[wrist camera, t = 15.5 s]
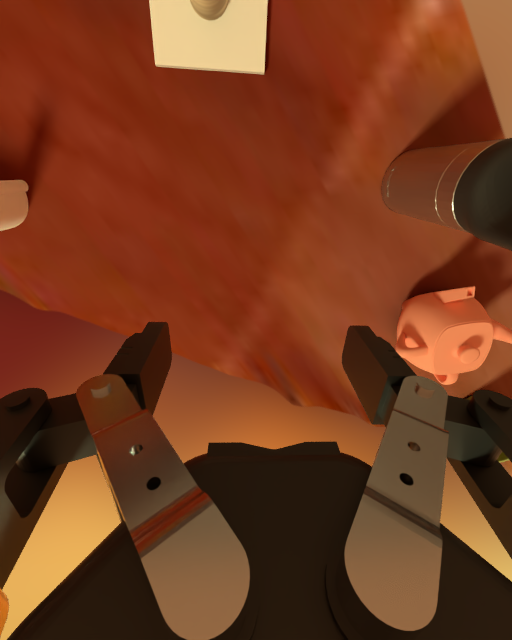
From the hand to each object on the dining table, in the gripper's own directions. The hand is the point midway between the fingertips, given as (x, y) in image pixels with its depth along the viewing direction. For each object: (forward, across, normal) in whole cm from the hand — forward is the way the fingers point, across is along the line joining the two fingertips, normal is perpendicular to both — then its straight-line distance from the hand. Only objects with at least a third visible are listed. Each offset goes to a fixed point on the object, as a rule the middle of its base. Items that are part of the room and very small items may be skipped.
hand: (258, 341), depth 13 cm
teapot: (+38, -37, +17) cm, 56 cm away
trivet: (+38, +5, -25) cm, 46 cm away
